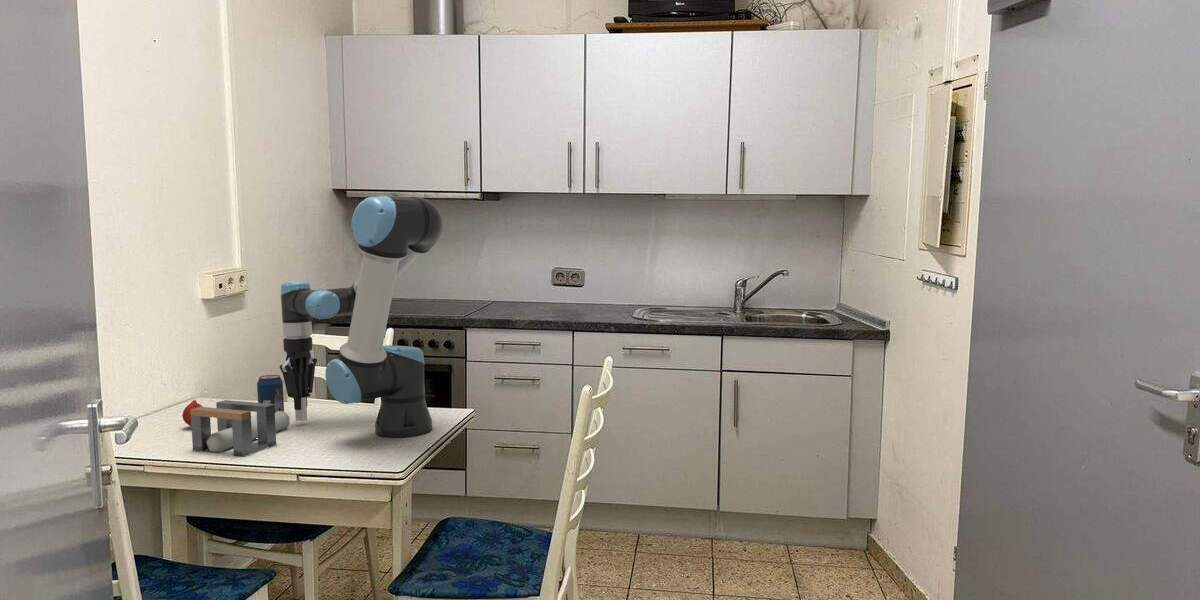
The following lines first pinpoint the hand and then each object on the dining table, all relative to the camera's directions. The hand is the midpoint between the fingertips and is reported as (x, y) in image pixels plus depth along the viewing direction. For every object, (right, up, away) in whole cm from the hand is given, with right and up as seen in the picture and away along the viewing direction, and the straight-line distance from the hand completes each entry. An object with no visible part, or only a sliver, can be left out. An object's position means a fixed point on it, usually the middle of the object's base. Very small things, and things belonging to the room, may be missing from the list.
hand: (301, 420), depth 222 cm
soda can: (-12, -1, +10) cm, 16 cm away
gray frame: (-8, -4, -22) cm, 24 cm away
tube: (-8, -3, -15) cm, 17 cm away
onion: (-29, -2, -2) cm, 29 cm away
